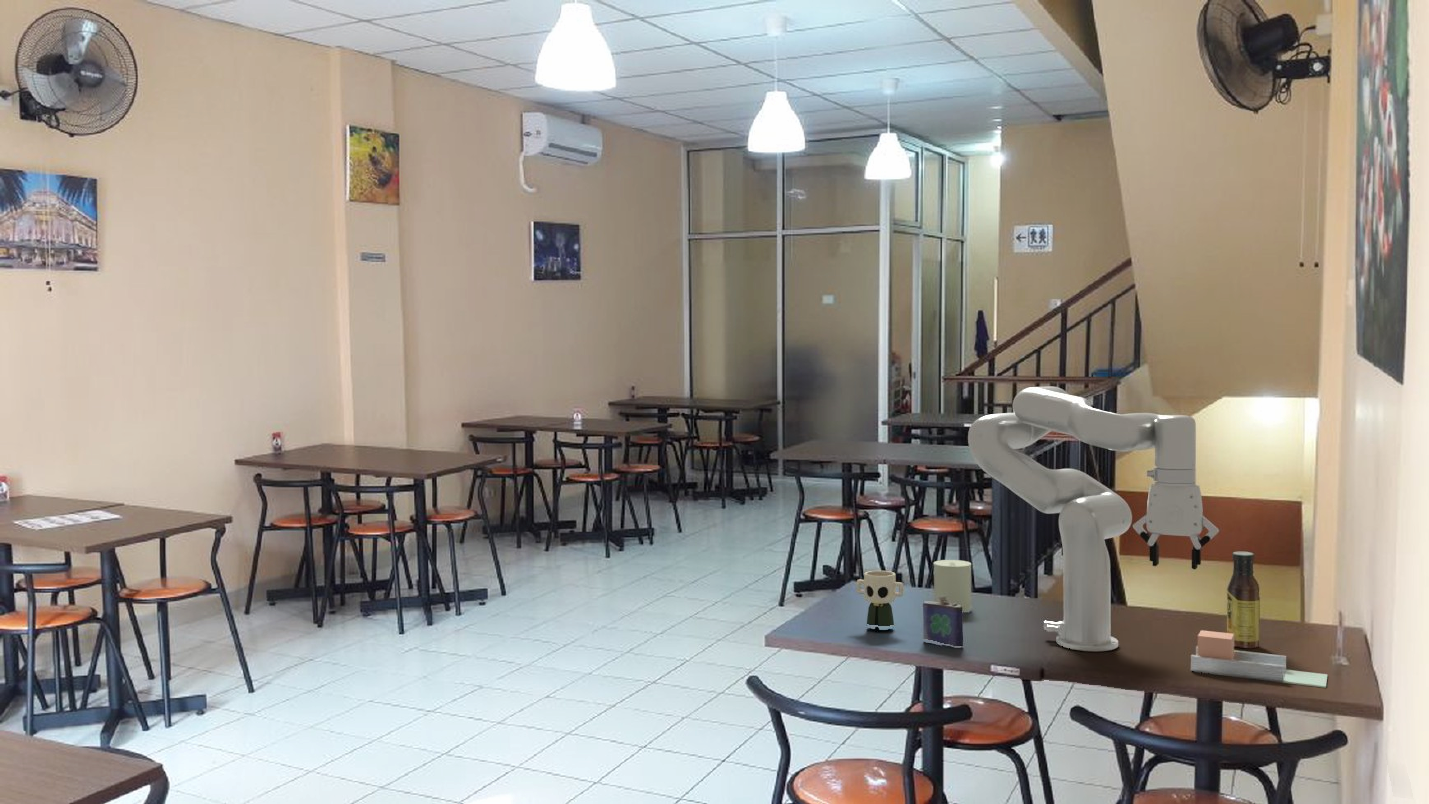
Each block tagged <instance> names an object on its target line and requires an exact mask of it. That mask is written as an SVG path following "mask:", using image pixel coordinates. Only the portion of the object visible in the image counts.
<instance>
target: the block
mask: <svg viewBox="0 0 1429 804" xmlns="http://www.w3.org/2000/svg"><path fill="white" fill-rule="evenodd" d="M1197 646H1198V655H1199V656H1207V657H1216V658H1225V659H1234V650H1235V646H1234V634H1232V633H1227V632H1221V631H1210V630H1200V632H1199V633H1198V634H1197Z"/></svg>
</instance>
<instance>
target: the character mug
mask: <svg viewBox="0 0 1429 804" xmlns="http://www.w3.org/2000/svg"><path fill="white" fill-rule="evenodd" d="M896 579H897V578H896V573H895V572H893V571H890V570H870V571H866V572H864V576H863V579H861V578H860V579H857V581H856V591H857V593H858V594H859V595H864V596H863V597H864V599H865V601H866V602H868V603H869V606H868V610H867V617H866V618H867V619H866V625H867V624H869V625H878V626H890V625H894V626H895V622H894V612H893V607H892V605H891V603H892V602H895V601H896V597H897V598H901V597H904V584H903V582H900V581H896ZM862 585H863V587H864V589H862ZM896 587H898V592H897V591H896V590H897V589H896Z"/></svg>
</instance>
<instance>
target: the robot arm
mask: <svg viewBox="0 0 1429 804" xmlns="http://www.w3.org/2000/svg"><path fill="white" fill-rule="evenodd" d="M1012 410H1013V412H1005V413H1004V412H1003V413H993V414H987V415H983V416H981V417H978V418H977V419H976V420H974V422H972V424H971V425H970V427H969V430H968V433H967V434H968V435H967V442H968V447H969V451H970V453H971V456H972V458H973V460H974V462H976V464H977V465H978V467H980V469H982V471H983V472H985V473H986V474H988V476H989V477H992V479H994V480H996V481H998V482H999V483H1001V484H1002V485H1003V486H1005V487H1006V488H1007V489H1009V490H1010V491H1011V492H1013V493H1014V494H1015V495H1017V496H1018V497H1019V498H1021V499H1023V500H1024V501H1025V502H1026V503H1028V504H1029V505H1031V506H1032V507H1034V508H1035V509H1036V510H1037V511H1039V512H1041V513H1043V514H1049V515H1050V514H1051V515H1052V514H1058V515H1059V516H1058V529H1059V533H1060V539H1061V544H1062V545H1061V546H1062V547H1061V548H1062V561H1063V563H1062V564H1063V566H1062V568H1063V620H1062V621H1061V620H1060V621H1058V622H1055V621H1050V620H1044V621H1043V629H1044V631H1045V630H1046V632H1048V633H1057V634H1058V635H1057V636H1056V637H1055V639H1056V640H1055V641H1056V644H1057V645H1059V646H1060V647H1062V646H1063V648H1066V649H1069V648H1070V650H1074V651H1075V650H1076V651H1082V652H1107V651H1112V650H1115V649H1117V648H1118V647H1119V640H1118V639H1117V638H1115V637H1114V636H1111V632H1112V631H1111V623H1112V622H1111V621H1112V620H1111V617H1112V616H1111V599H1112V598H1111V593H1112V592H1111V589H1112V588H1111V558H1110V554H1109V551H1108V547H1107V545H1106V541H1105V540H1108V539H1113V538H1116V537H1119V536H1122V535H1123V534H1124V533H1126V532H1127V531H1128V530H1129V528H1131V525H1132V528H1133V529H1134V531H1135V532H1136V533H1137V534H1138V535H1139V537H1141V539H1142V540H1144V542H1145V543H1146V544H1147V546H1149V562H1152V567H1158V565H1159V564H1160V563H1159V562H1160V553H1159V552H1160V546H1159V544H1158V539H1159V537H1160V536H1161V535H1164V536H1166V535H1167V536H1178V537H1179V536H1180V537H1189V538H1190V541H1191V543H1192V547H1193V548H1192V549H1191V569H1192V570H1197V569H1198V565H1199V566H1200V565H1201V564H1202V548H1203V547H1204V546H1205V545H1206V544H1207V543H1209V542H1210V541H1211V540H1212V539H1213V538H1214V537H1216V536H1217V534H1219V531H1220V530H1219V528H1218V527H1216V525H1214V524H1213V523H1212V522H1211V521H1210V520H1209V519H1207V517H1205V516H1204V512H1203V511H1204V508H1203V500H1202V499H1203V498H1202V493H1201V487H1200V485H1199V484H1198V483H1196V482H1197V473H1196V472H1197V471H1196V470H1197V463H1196V462H1197V461H1196V459H1197V458H1196V457H1197V455H1196V454H1197V453H1196V452H1197V451H1196V449H1197V448H1196V447H1197V445H1196V444H1197V428H1196V427H1197V425H1196V420H1195V418H1193V416H1190V415H1185V414H1179V415H1178V414H1170V415H1169V414H1166V415H1165V414H1164V415H1163V414H1158V413H1157V414H1156V413H1153V412H1152V413H1151V412H1140V413H1139V412H1135V413H1133V412H1132V413H1124V414H1123V413H1121V414H1120V413H1116V412H1110V411H1105V410H1103V409H1102V410H1101V409H1099V408H1095V407H1094V408H1093V407H1092V405H1091V402H1090V401H1089V400H1088V399H1087V398H1085V397H1083V396H1082V397H1081V396H1079V395H1073V394H1069V393H1068V391H1065V389H1063V388H1060V387H1058V386H1031V387H1026V388H1024V389H1022V390H1021V391H1019V392H1018V393H1017V394H1016V395H1015V397H1014V398H1013V401H1012ZM1052 431H1053V432H1057V433H1060V434H1063V435H1068V436H1072V437H1074V439H1076V440H1079V441H1081V442H1082V443H1085V444H1088V445H1091V446H1094V447H1099V448H1103V449H1107V450H1110V451H1116V452H1122V453H1124V452H1126V453H1127V452H1132V451H1143V450H1144V451H1145V450H1152V449H1153V450H1154V468H1153V469H1151V470H1147V471H1146V477H1147V478H1151V479H1153V481H1154V482H1152V483H1150V485H1149V489H1148V495H1147V496H1148V497H1147V504H1146V505H1147V507H1146V514H1145V515H1144V516H1142V517H1141V518H1140V519H1139V520H1137V521H1136V522H1135V523H1133V524H1132V521H1133V514H1132V510H1131V508H1130V506H1129V504H1128V502H1126V501H1125V499H1123V498H1122V497H1121V495H1119V494H1117V493H1116V492H1114V491H1113V490H1112V489H1110V488H1108V487H1107V486H1106V485H1104V484H1102V483H1101V482H1099V481H1098V480H1097V479H1095V478H1094V477H1092V476H1090V475H1089V474H1087V473H1086V472H1084V471H1081V470H1078V469H1075V468H1061V469H1059V468H1058V469H1054V468H1053V469H1052V468H1048V467H1046V466H1044V465H1042V464H1041V463H1039V462H1037V461H1036V460H1034V459H1033V458H1032V457H1031V456H1029V455H1027V454H1024V453H1023V452H1021V451H1018V449H1024V448H1027V447H1029V446H1032V445H1033V444H1034V443H1036V442H1037V441H1038V440H1040V439H1042V438H1044V436H1046V435H1048V434H1049V433H1051V432H1052ZM1145 524H1146V530H1145V528H1144V525H1145ZM1204 527H1205V528H1206V530H1207V531H1208V532H1207V533H1206V534H1205V535H1204V536H1203V537H1200V534H1202V532H1203V530H1204ZM1147 531H1148V532H1147ZM1149 533H1151V535H1150V534H1149Z"/></svg>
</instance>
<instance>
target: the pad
mask: <svg viewBox="0 0 1429 804" xmlns="http://www.w3.org/2000/svg"><path fill="white" fill-rule="evenodd" d="M1327 680H1328V674H1326V673H1320V672H1319V673H1318V672H1309V671H1302V670H1300V671H1299V670H1293V669H1286V672H1285V676H1284V680H1283V684H1291V685H1292V684H1293V685H1300V686H1307V687H1317V688H1322V689H1326V688H1327V682H1328V681H1327Z"/></svg>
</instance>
